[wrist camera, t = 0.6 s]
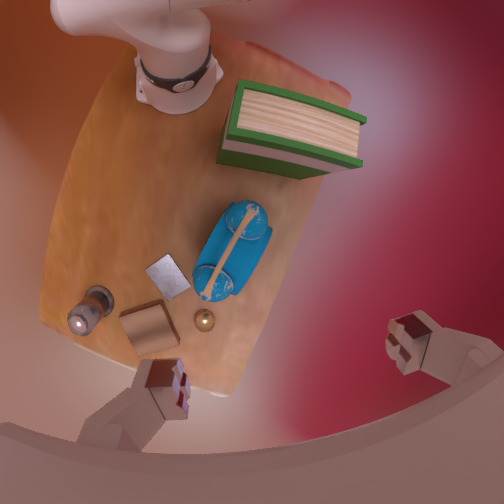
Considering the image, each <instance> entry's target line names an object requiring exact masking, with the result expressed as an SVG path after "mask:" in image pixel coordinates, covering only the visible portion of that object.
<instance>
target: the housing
mask: <svg viewBox="0 0 504 504" xmlns="http://www.w3.org/2000/svg"><path fill="white" fill-rule="evenodd" d="M113 308H114V298H113V296H112V294H111V293H110V291H109V290H108V289H106V288H105V287H103V286H98V285H97V286H93V287H91V288H90V289H89V290H88V291H87V292H86V294H85V298H84V299H83V300H82V301H81V302H80V303H79V304H78V305H76V306H75V307H74V308H73V309H72V310H71V311H70V312H69V314H68V317H67V320H68V326H69V329H70V330H71V332H72V333H74V334H75V335H80V336H87V335H89V334H90V333H91V331H92V330H93V329H94V327H95V326H96V325H97V324H98V322H99V321H100V320H101V318H102V317H106V316H108V315H109V314H110V313H111V312H112V310H113Z"/></svg>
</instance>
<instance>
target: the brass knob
mask: <svg viewBox="0 0 504 504" xmlns="http://www.w3.org/2000/svg"><path fill="white" fill-rule="evenodd" d="M214 325H215V322H214V316H213V314H212V312H211V311H209V310H206V309H203V310H200V311H198V312H197V314H196V316H195V326H196V328H197V329H198V330H199V331H201V332H209V331H211V330H212V329H213V328H214Z"/></svg>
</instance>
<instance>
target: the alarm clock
mask: <svg viewBox="0 0 504 504" xmlns="http://www.w3.org/2000/svg"><path fill="white" fill-rule="evenodd" d="M271 234H272V228H271V227H269V226H268V219H267V215H266V212H265V211H264V209H263V208H262V207H261V206H260V205H259V204H257V203H255V202H253V201H240V202H238V203H234V202H232V203H231V204H230V205H229V207H228V208H227V210H226V211H225V212H224V214H223V215H222V217H221V219H220V220H219V222H218V223H217V225H216V227H215V228H214V230H213V232H212V234H211V235H210V237H209V239H208V241H207V243H206V245H205V247H204V248H203V250H202V252H201V254H200V256H199V259H198V261H197V263H196V265H195V268H194V270H193V273H192V276H193V286H194V289H195V291H196V293H197V294H198V295H199V296H200V298H201V299H202V300H203V301H210V302H218V301H221V300H223V299H225V298H227V297H228V296H229V295H230V293H231V294H233V295H237V294H238V293H239V292H240V291H241V289H242V288H243V286H244V285H245V283H246V282H247V280H248V279H249V277H250V275H251V274H252V272H253V270H254V269H255V267H256V265H257V263H258V261H259V260H260V258H261V256H262V254H263V252H264V250H265V248H266V246H267V244H268V241H269V239H270V237H271Z"/></svg>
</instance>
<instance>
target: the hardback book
mask: <svg viewBox="0 0 504 504" xmlns="http://www.w3.org/2000/svg"><path fill="white" fill-rule="evenodd" d="M366 122H367V117H365V116H363V115H360V114H358V113H355V112H353V111H350V110H347V109H345V108H342V107H339V106H336V105H334V104H331V103H328V102H325V101H322V100H319V99H316V98H313V97H309V96H306V95H303V94H299V93H296V92H292V91H289V90H285V89H281V88H277V87H273V86H269V85H265V84H260V83H256V82H251V81H246V80H241V79H239V81H238V84H237V87H236V90H235V93H234V96H233V99H232V102H231V105H230V108H229V111H228V114H227V117H226V120H225V124H224V127H223V130H222V136H221V141H220V146H219V151H218V157H217V162H216V164H222V165H228V166H234V167H240V168H246V169H251V170H256V171H262V172H267V173H272V174H277V175H281V176H286V177H291V178H295V179H305V178H309V177H314V176H319V175H324V174H329V173H333V172H339V171H344V170H349V169H355V168H360V167H362V165H363V160H360V159H357V148H358V138H359V127H360V125H363V124H365V123H366Z"/></svg>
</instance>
